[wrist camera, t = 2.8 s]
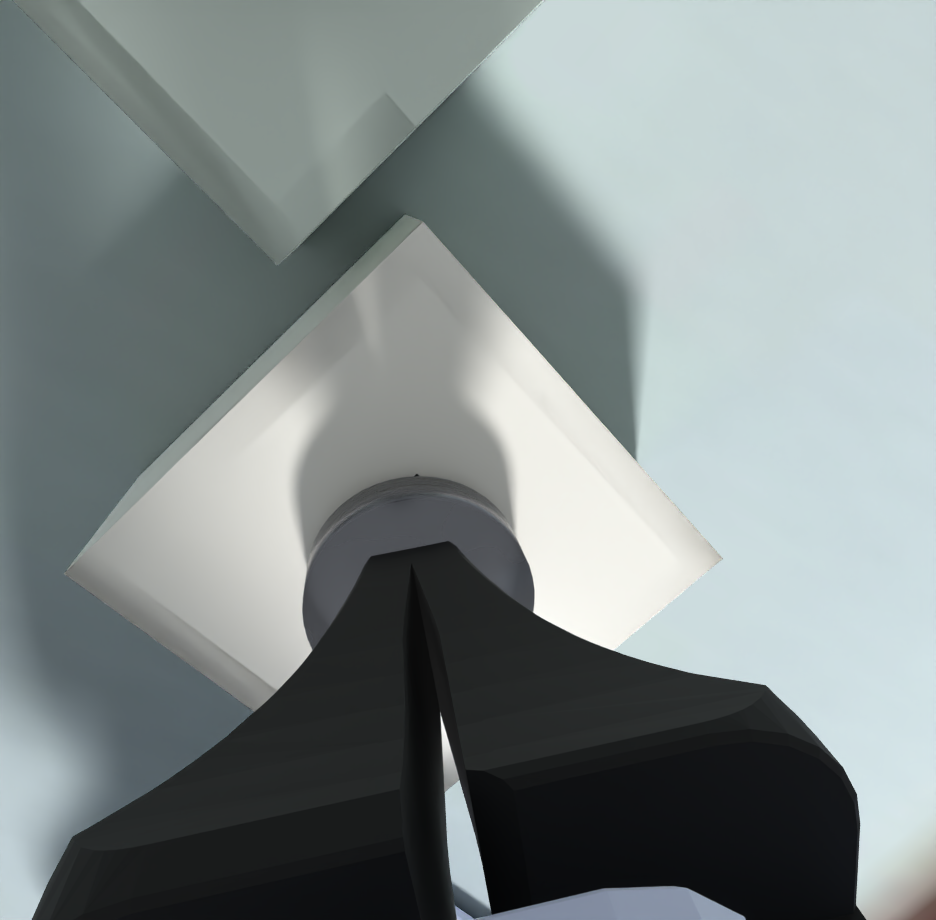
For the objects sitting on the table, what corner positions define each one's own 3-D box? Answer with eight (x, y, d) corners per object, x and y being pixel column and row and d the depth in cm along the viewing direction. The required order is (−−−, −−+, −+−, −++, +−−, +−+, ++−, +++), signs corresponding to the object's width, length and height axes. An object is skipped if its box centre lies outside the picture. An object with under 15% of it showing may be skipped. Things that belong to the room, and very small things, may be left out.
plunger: (399, 630, 18) (415, 796, 13) (228, 486, 16) (172, 615, 11) (564, 484, 17) (647, 600, 12) (405, 317, 15) (427, 374, 10)
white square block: (396, 683, 19) (407, 823, 15) (139, 475, 16) (63, 573, 12) (637, 472, 18) (722, 558, 14) (405, 213, 15) (423, 222, 11)
